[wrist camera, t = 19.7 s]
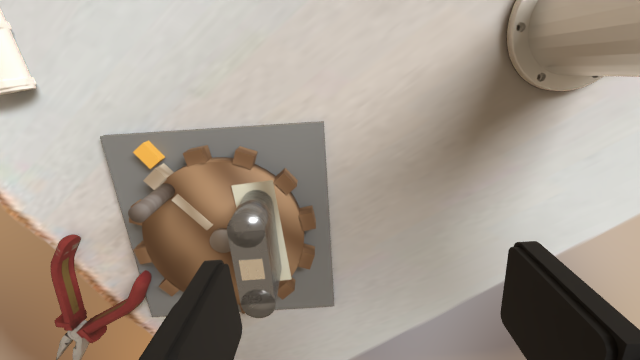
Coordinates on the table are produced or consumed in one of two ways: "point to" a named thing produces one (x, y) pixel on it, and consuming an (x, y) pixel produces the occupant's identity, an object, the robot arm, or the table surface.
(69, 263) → the pliers
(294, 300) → the index base plate
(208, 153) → the sprocket wheel
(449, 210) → the table surface
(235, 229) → the chain link
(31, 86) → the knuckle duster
